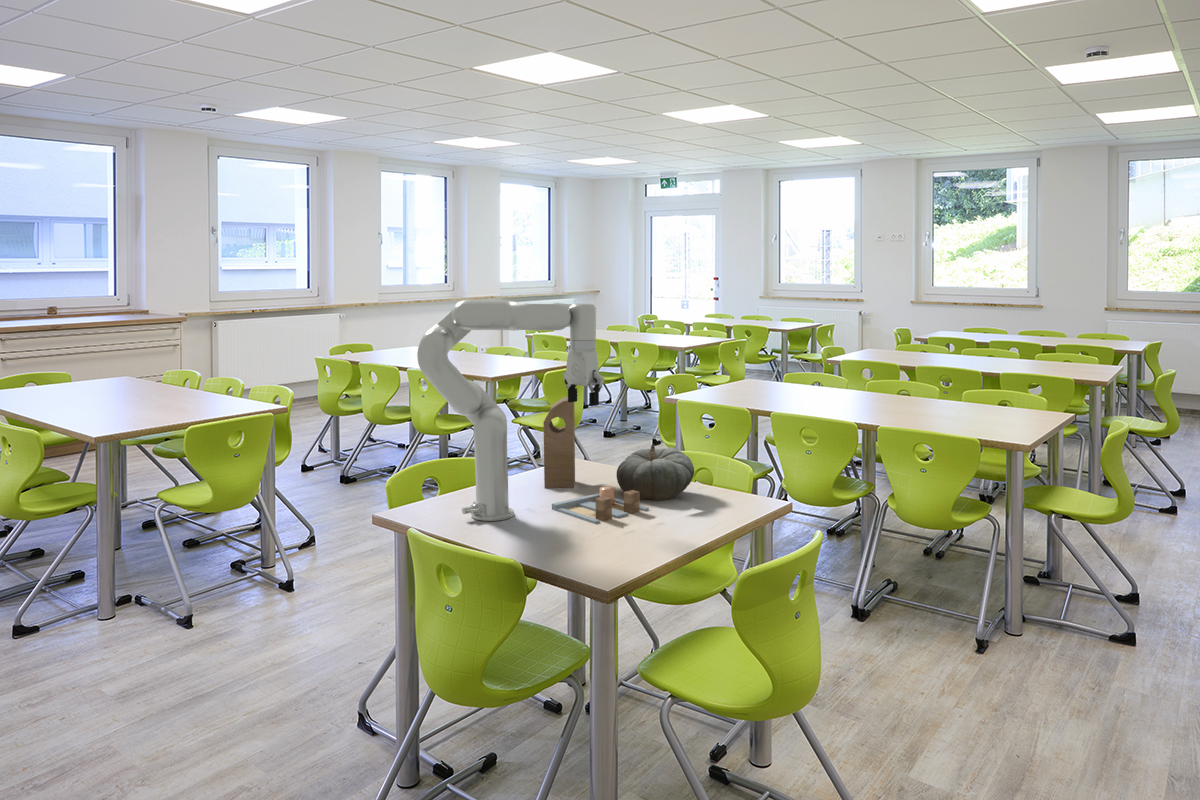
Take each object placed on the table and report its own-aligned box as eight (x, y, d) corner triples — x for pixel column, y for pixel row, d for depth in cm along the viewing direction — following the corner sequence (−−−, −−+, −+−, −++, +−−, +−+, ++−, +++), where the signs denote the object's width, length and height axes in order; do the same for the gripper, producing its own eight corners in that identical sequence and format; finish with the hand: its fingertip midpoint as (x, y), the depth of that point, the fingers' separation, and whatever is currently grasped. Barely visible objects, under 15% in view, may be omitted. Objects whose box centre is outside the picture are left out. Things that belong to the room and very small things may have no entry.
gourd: (696, 479, 285) (691, 430, 279) (697, 511, 261) (691, 459, 256) (622, 485, 288) (616, 437, 283) (616, 517, 264) (609, 466, 259)
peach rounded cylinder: (606, 507, 256) (606, 491, 256) (596, 504, 260) (596, 488, 259) (617, 504, 259) (617, 488, 259) (607, 501, 263) (607, 485, 262)
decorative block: (573, 488, 284) (572, 399, 280) (544, 488, 285) (542, 399, 280) (575, 481, 294) (574, 395, 290) (546, 481, 294) (545, 395, 290)
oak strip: (628, 518, 249) (628, 494, 248) (590, 506, 261) (590, 483, 260) (641, 514, 252) (641, 491, 251) (604, 503, 265) (604, 481, 264)
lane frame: (595, 528, 240) (594, 518, 239) (551, 513, 255) (551, 503, 254) (648, 514, 253) (648, 504, 253) (604, 501, 268) (604, 491, 268)
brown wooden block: (600, 525, 242) (600, 501, 241) (584, 520, 247) (584, 496, 246) (614, 522, 245) (614, 497, 244) (598, 516, 250) (598, 493, 249)
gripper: (554, 344, 252) (554, 401, 255) (592, 348, 239) (592, 408, 242) (573, 343, 257) (574, 399, 260) (612, 347, 244) (612, 405, 247)
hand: (583, 403), depth 251 cm, fingers open, 9 cm apart
